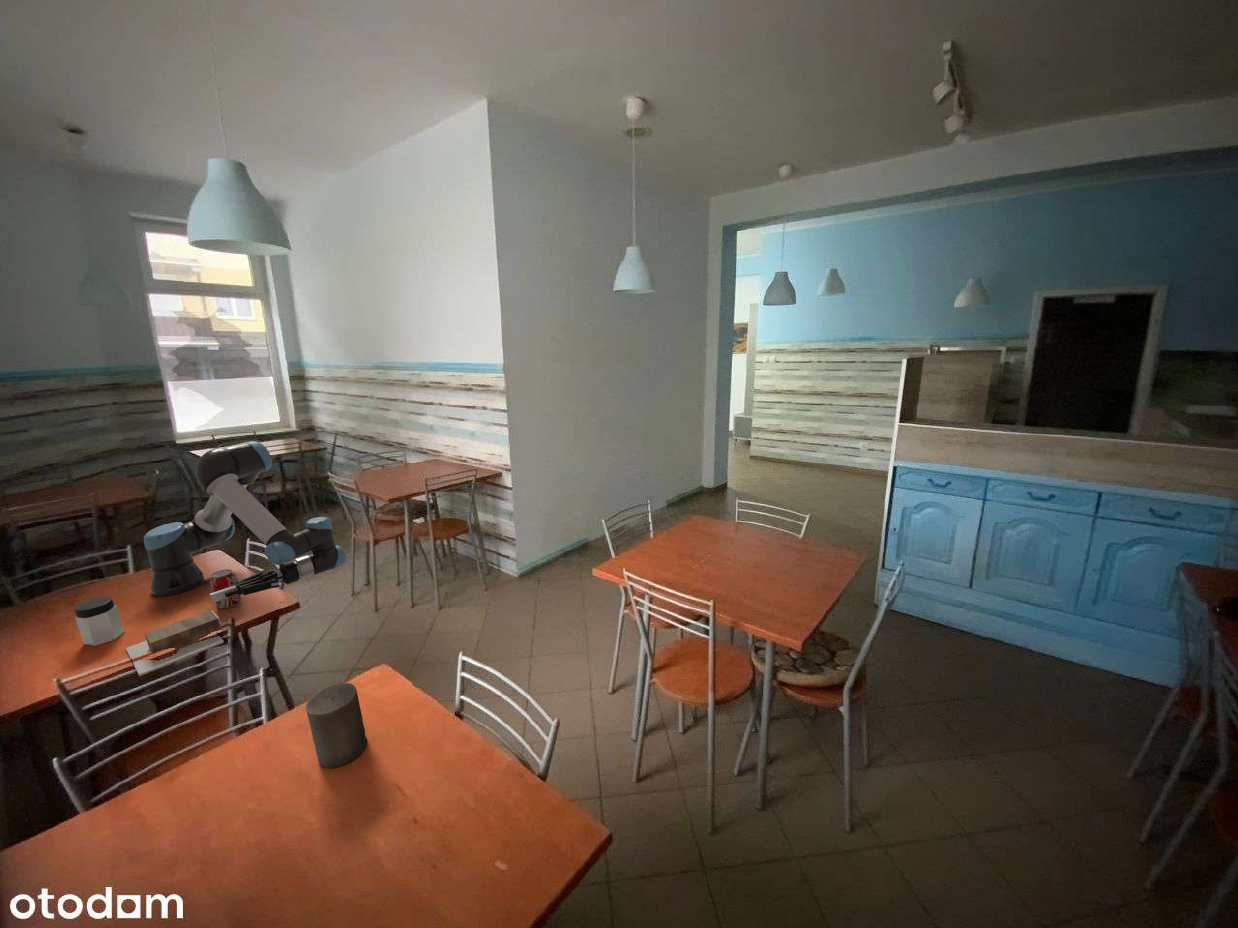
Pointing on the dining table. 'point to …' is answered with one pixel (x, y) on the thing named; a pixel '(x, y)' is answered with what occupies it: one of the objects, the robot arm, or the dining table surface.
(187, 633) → the walnut block
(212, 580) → the soda can
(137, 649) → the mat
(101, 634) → the jar
